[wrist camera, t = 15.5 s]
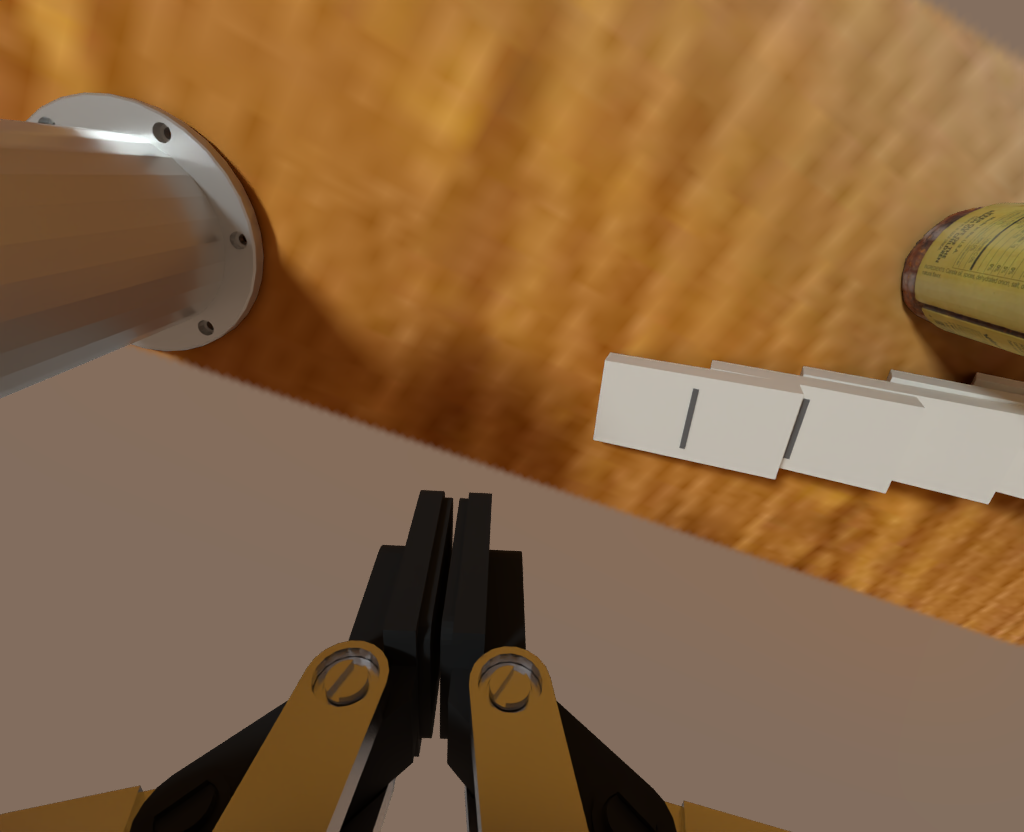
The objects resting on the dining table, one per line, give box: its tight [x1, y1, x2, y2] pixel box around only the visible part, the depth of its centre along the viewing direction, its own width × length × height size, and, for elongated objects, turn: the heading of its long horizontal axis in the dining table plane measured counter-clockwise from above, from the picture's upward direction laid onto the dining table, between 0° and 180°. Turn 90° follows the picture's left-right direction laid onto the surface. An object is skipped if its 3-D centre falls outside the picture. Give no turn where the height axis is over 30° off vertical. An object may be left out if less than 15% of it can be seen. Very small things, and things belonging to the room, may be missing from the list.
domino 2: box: [710, 360, 925, 493], centre depth 28 cm, size 2×5×10 cm
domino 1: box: [593, 353, 804, 479], centre depth 28 cm, size 2×5×10 cm
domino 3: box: [800, 366, 1024, 504], centre depth 28 cm, size 2×5×10 cm
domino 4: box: [886, 370, 1024, 499], centre depth 27 cm, size 2×5×10 cm
